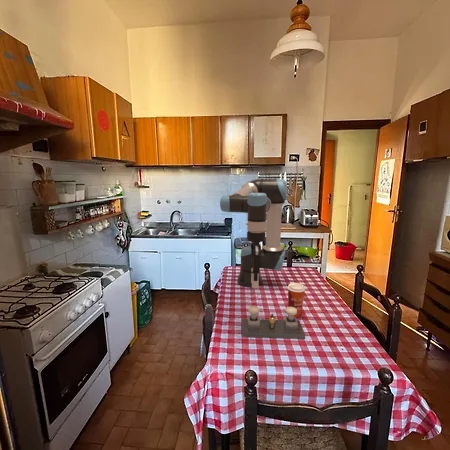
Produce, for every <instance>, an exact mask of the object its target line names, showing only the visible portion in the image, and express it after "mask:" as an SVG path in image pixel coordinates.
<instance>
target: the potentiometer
mask: <svg viewBox="0 0 450 450" xmlns="http://www.w3.org/2000/svg"><path fill="white" fill-rule="evenodd" d="M270 314H271V315H269V317H268V319H269V327H271V328H274V327H275V320H276V317H275V316H274V313H270Z"/></svg>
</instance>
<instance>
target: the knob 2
mask: <svg viewBox="0 0 450 450" xmlns="http://www.w3.org/2000/svg"><path fill="white" fill-rule="evenodd" d="M285 313H286V314H287V317H288V320H289V321H294V315H296V314H297V309H296V308H294V307H288V306H287V307H286V308H285Z"/></svg>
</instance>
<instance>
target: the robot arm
mask: <svg viewBox="0 0 450 450" xmlns="http://www.w3.org/2000/svg"><path fill="white" fill-rule="evenodd" d="M220 197H221V198H220V200H219V207H220V209H221V211H222V212H224V213H225V212H226V213H244V214H247V219H246V220H247V222H246V223H245V225H246V226H247V228H246V229H247V232H246V240H247V242H251V244H250V245H248V246H247V245H246V246H244V247H242V248H241V249H240V251H241V252H240V271H239V274H238V276H237V284H238V285H240V286H242V287H246V288H251V289H259V287H260V286H261V285H262V281H263V280H262V277H261V274H260V273H261V272H260V269H264V270H265V269H266V270H273V271H281V270H282V268H283V266H284V261H285V256H286V252H285V250H284V249H283V247H282V245H281V239H282V238H281V233H282V232H281V231H282V208H283V205H285V202H286V201H287V200H288V197H289V196H288V185H287V182H286V180H285V179H282V178H257V179H252V180H250V181H247V182H246V183H244V184H243V185H242V186H241V188H240V189H238V190H237V191H236V192H234V193H232V194H230V195H229V194H226V195H225V194H224V195H222V196H220ZM264 242H265V245H264V246H263V247H262V246H261V243H264Z"/></svg>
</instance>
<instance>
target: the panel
mask: <svg viewBox="0 0 450 450" xmlns="http://www.w3.org/2000/svg"><path fill="white" fill-rule="evenodd" d="M283 318H284V319H275V327H274V328H271V327H269V318H266V319H265V318H260V315H257V317H256V320H252V319H251V315H247V318H241V336H242V337H243V338H267V339H268V338H269V339H271V338H272V339H273V338H274V339H301V340H305V339H306V333H305V330H304V328H303V326H302V323H301V321H300V320H299V319H297V318H296V317H294V321H289V320H288V316H284V317H283Z"/></svg>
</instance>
